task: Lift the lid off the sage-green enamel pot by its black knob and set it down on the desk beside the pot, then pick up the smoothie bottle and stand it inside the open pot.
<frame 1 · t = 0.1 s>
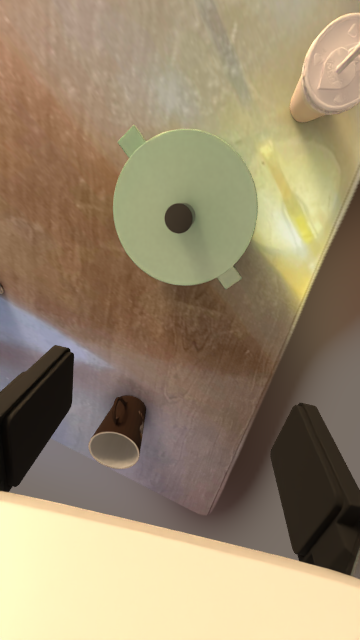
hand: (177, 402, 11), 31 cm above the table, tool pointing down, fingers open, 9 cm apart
lid: (183, 215, 29), point 8 cm above the table, touching pot
pot: (189, 212, 37), on the table
smoothie: (306, 103, 31), on the table
coffee mug: (133, 402, 52), on the table
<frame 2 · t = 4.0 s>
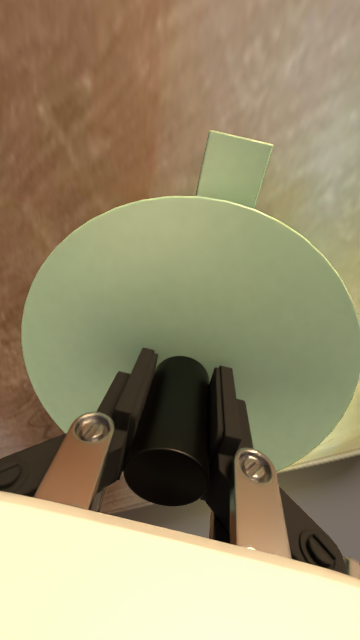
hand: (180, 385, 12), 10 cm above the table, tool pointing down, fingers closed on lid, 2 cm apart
lid: (182, 371, 13), point 9 cm above the table, touching gripper, pot
pot: (192, 308, 21), on the table
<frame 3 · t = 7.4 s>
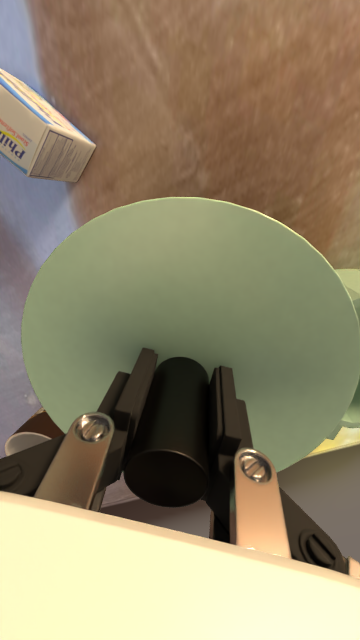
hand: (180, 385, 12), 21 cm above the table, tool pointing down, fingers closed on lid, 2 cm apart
lid: (182, 372, 13), point 20 cm above the table, touching gripper
pot: (333, 328, 32), on the table
coffee mug: (85, 400, 41), on the table
medicine box: (56, 138, 27), on the table
when the fingers open (2 cm above the table, at t = 11.0 s): lid stays where it is, point 1 cm above the table.
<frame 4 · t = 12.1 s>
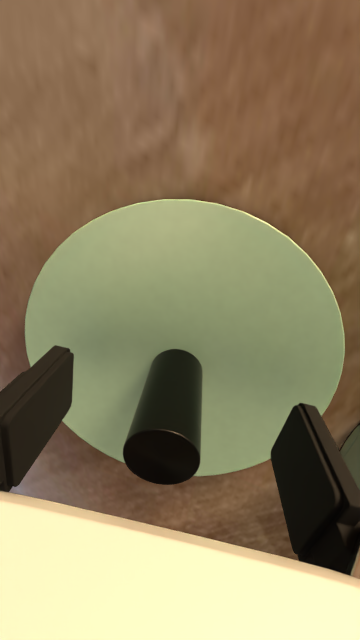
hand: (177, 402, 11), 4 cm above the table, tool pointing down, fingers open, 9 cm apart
lid: (177, 364, 14), point 1 cm above the table
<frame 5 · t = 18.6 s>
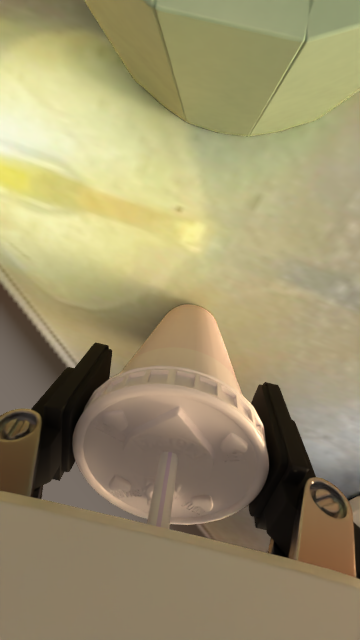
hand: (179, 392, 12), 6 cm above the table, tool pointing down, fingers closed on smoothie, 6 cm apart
smoothie: (189, 329, 17), on the table, touching gripper
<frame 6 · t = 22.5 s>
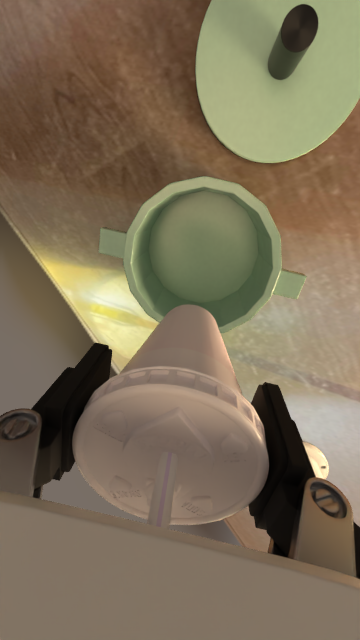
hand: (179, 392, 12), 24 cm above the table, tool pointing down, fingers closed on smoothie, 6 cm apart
lid: (280, 64, 24), point 1 cm above the table
pot: (202, 250, 32), on the table
smoothie: (189, 329, 17), point 18 cm above the table, touching gripper
when the fingers open (7 cm above the table, at t = 26.9 s): smoothie stays where it is, resting on pot.
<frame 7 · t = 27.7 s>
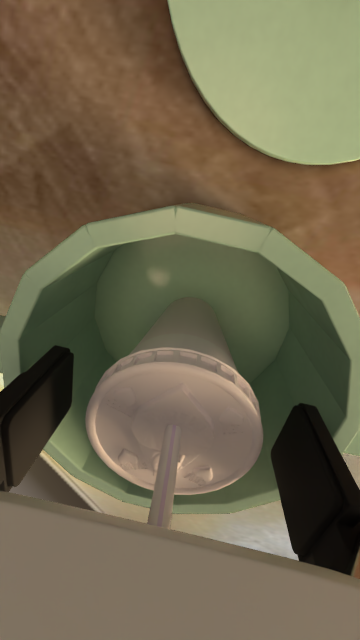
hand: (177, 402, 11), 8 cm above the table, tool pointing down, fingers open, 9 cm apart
pot: (189, 318, 18), on the table
smoothie: (189, 321, 18), resting on pot
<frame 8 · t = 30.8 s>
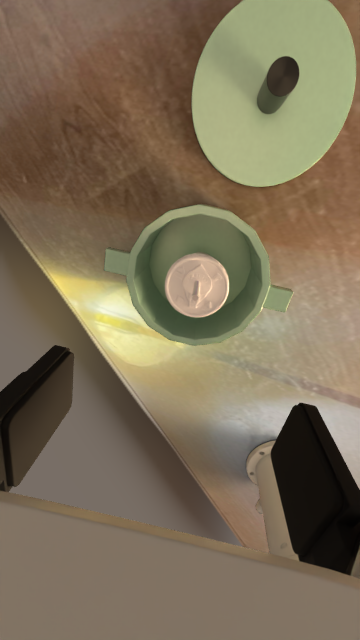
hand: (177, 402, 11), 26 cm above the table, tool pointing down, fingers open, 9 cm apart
lid: (269, 100, 27), point 1 cm above the table
pot: (199, 265, 35), on the table
smoothie: (199, 265, 35), resting on pot
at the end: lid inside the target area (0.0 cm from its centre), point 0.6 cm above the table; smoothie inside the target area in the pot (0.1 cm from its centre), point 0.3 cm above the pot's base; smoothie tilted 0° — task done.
